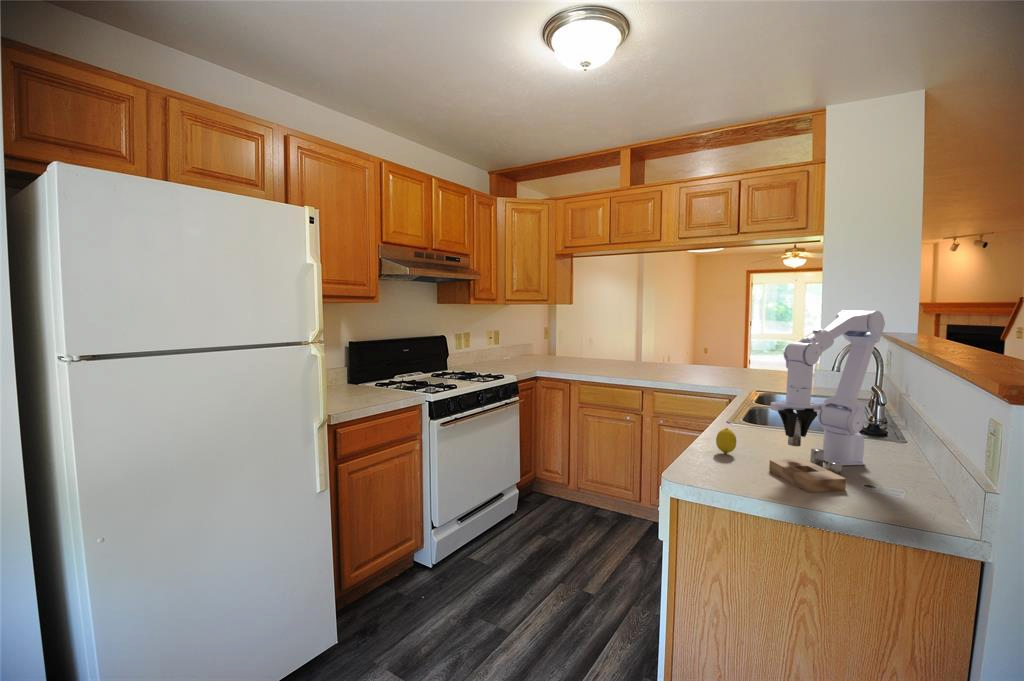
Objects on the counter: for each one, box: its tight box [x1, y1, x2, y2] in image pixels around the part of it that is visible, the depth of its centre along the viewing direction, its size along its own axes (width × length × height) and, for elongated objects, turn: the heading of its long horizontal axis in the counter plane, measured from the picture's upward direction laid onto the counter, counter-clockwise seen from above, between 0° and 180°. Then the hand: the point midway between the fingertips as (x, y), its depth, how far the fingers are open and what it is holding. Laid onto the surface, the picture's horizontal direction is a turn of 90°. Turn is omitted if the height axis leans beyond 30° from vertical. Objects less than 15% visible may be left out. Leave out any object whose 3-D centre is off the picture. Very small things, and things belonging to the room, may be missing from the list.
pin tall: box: [787, 418, 802, 447], centre depth 126 cm, size 3×3×7 cm
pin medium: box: [809, 447, 824, 468], centre depth 128 cm, size 3×3×5 cm
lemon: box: [715, 427, 737, 455], centre depth 138 cm, size 6×6×8 cm
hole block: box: [768, 458, 847, 493], centre depth 119 cm, size 10×14×3 cm
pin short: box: [827, 461, 843, 476], centre depth 122 cm, size 3×3×4 cm
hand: (795, 436), depth 126 cm, fingers closed on pin tall, 3 cm apart
